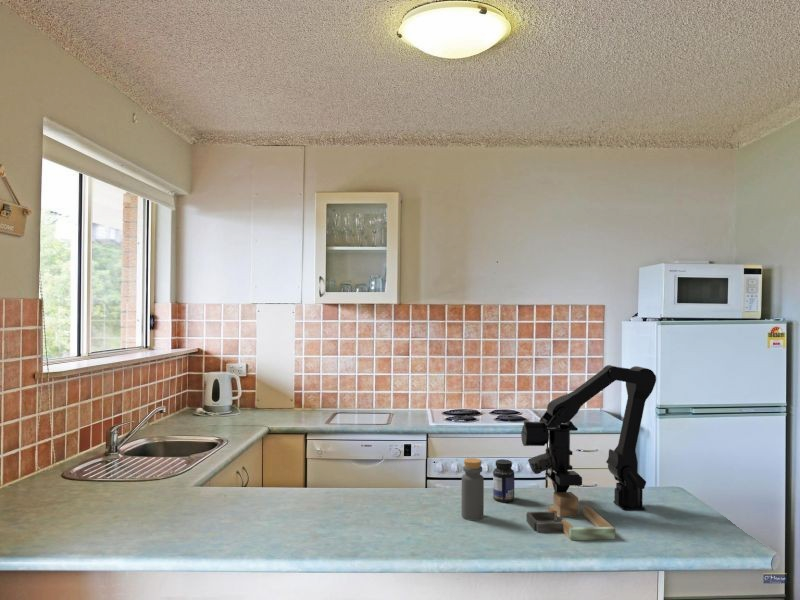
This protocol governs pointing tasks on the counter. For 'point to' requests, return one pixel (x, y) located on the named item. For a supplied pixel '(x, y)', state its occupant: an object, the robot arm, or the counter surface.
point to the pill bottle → (503, 481)
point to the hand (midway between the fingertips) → (559, 501)
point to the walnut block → (566, 504)
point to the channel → (547, 524)
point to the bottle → (472, 490)
